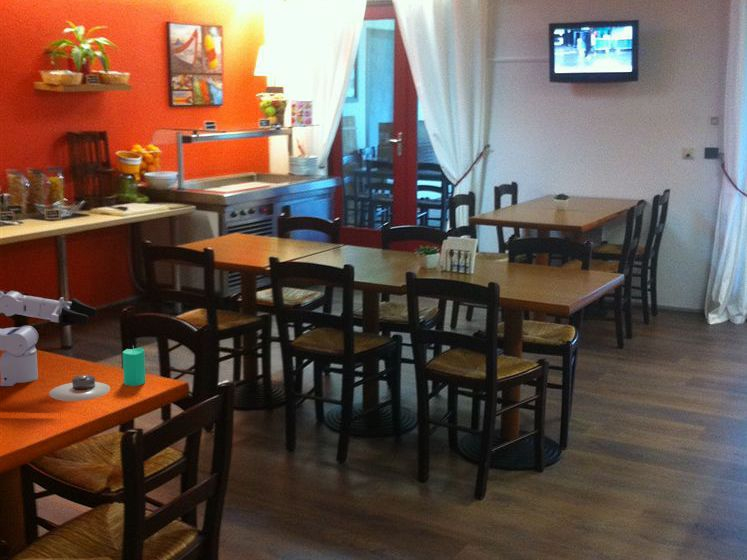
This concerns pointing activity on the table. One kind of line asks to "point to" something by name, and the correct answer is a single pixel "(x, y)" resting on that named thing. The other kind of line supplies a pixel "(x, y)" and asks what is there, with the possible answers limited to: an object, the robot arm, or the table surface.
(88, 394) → the cream flat disc
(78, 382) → the cover
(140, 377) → the candle
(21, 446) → the table surface
